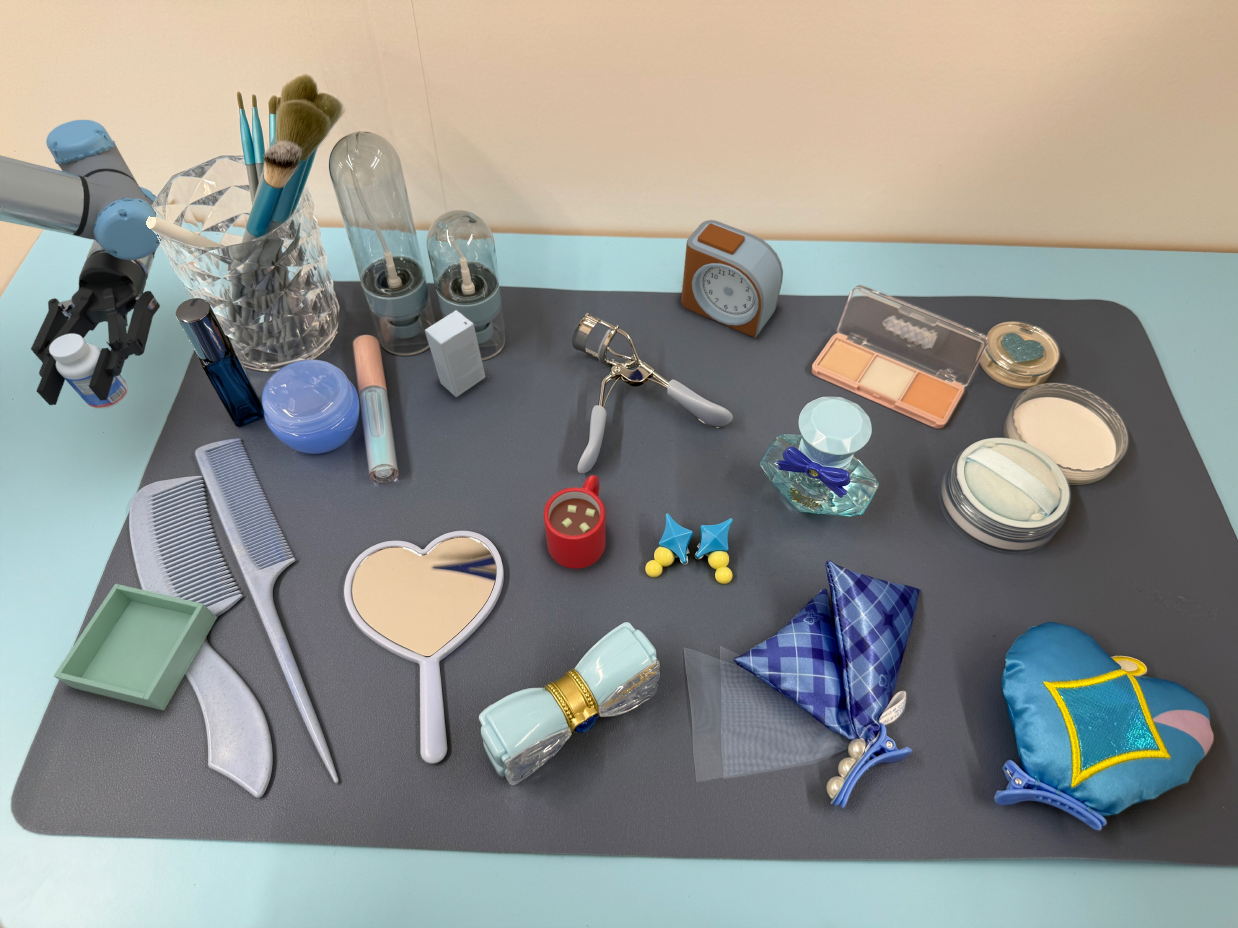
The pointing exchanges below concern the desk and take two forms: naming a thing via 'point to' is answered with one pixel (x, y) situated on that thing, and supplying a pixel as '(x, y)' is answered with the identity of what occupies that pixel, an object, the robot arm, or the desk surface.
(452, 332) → the cosmetic box
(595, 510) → the mug
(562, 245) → the desk surface
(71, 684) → the tray
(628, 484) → the desk surface
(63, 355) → the pill bottle
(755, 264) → the alarm clock
